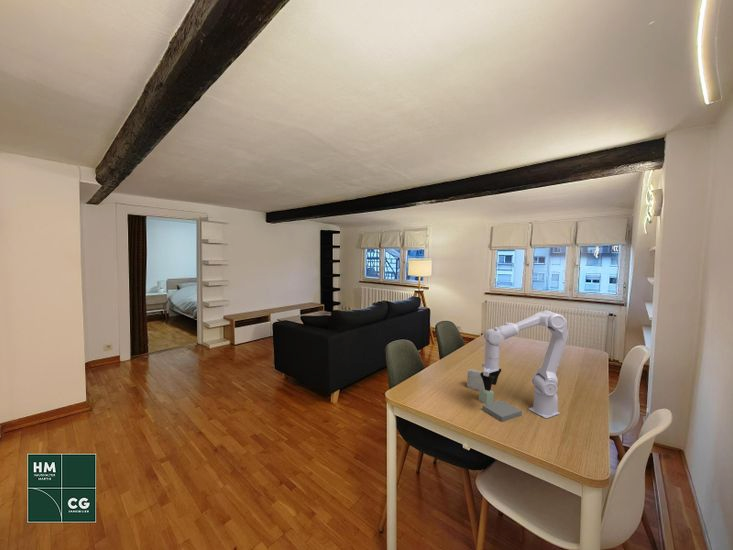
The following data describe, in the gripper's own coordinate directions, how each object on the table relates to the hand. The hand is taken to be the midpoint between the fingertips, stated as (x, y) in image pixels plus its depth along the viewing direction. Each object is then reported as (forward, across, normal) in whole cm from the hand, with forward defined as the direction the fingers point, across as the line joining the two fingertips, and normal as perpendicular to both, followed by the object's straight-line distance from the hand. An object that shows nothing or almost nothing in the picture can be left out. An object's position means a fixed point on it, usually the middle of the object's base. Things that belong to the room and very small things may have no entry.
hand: (490, 387), depth 125 cm
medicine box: (+10, -16, -12) cm, 22 cm away
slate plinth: (+10, 0, +5) cm, 11 cm away
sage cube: (+10, -6, -3) cm, 12 cm away
